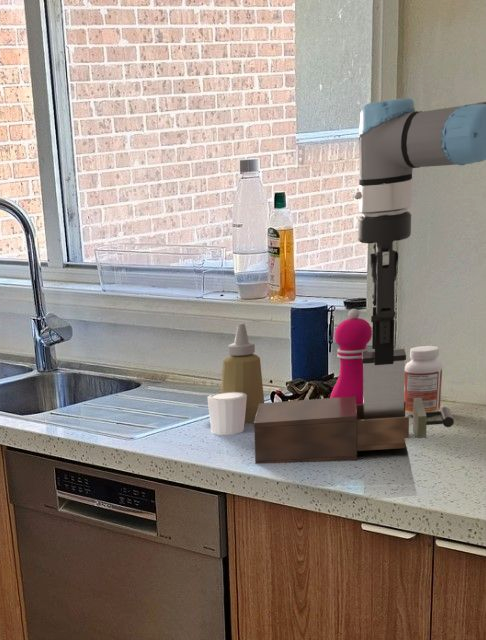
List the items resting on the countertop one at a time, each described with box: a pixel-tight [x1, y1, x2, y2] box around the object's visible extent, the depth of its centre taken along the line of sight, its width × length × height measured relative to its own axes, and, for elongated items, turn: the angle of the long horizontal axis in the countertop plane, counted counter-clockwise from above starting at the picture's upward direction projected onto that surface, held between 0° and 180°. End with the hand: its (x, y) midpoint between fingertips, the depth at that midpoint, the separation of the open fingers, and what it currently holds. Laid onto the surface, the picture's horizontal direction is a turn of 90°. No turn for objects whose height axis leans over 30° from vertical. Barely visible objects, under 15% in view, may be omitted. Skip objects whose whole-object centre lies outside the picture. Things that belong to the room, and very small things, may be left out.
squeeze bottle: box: [219, 322, 265, 425], centre depth 222 cm, size 8×8×18 cm
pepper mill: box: [329, 308, 373, 404], centre depth 208 cm, size 7×7×20 cm
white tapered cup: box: [207, 392, 247, 436], centre depth 218 cm, size 7×7×7 cm
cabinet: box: [253, 396, 358, 465], centre depth 199 cm, size 16×15×7 cm
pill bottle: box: [404, 345, 443, 416], centre depth 213 cm, size 6×6×11 cm
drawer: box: [356, 398, 455, 452], centre depth 196 cm, size 19×13×5 cm
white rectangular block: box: [362, 348, 407, 420], centre depth 194 cm, size 6×5×13 cm
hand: (382, 356), depth 192 cm, fingers open, 13 cm apart
